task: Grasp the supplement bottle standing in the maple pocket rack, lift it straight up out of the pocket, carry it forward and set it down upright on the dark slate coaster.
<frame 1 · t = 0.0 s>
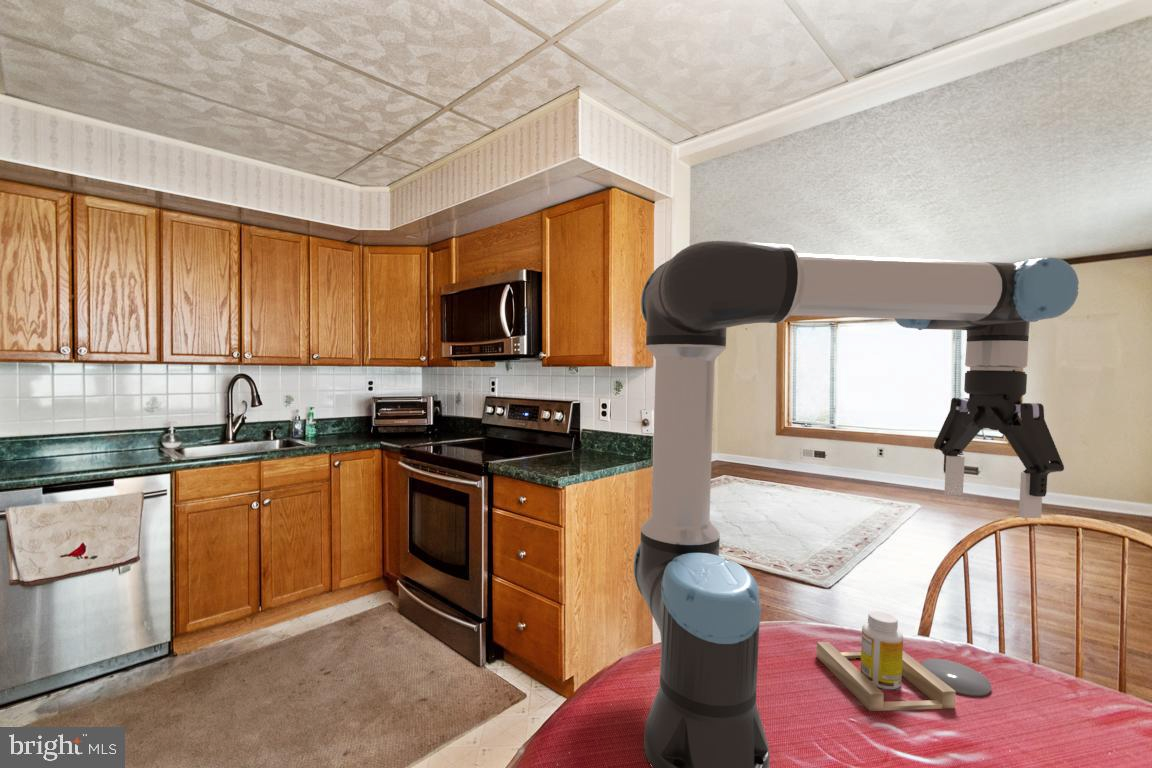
hand: (988, 505, 81), 28 cm above the table, fingers open, 13 cm apart
supplement bottle: (880, 681, 82), resting in pocket rack
pocket rack: (880, 680, 82), on the table
coaster: (954, 678, 83), on the table
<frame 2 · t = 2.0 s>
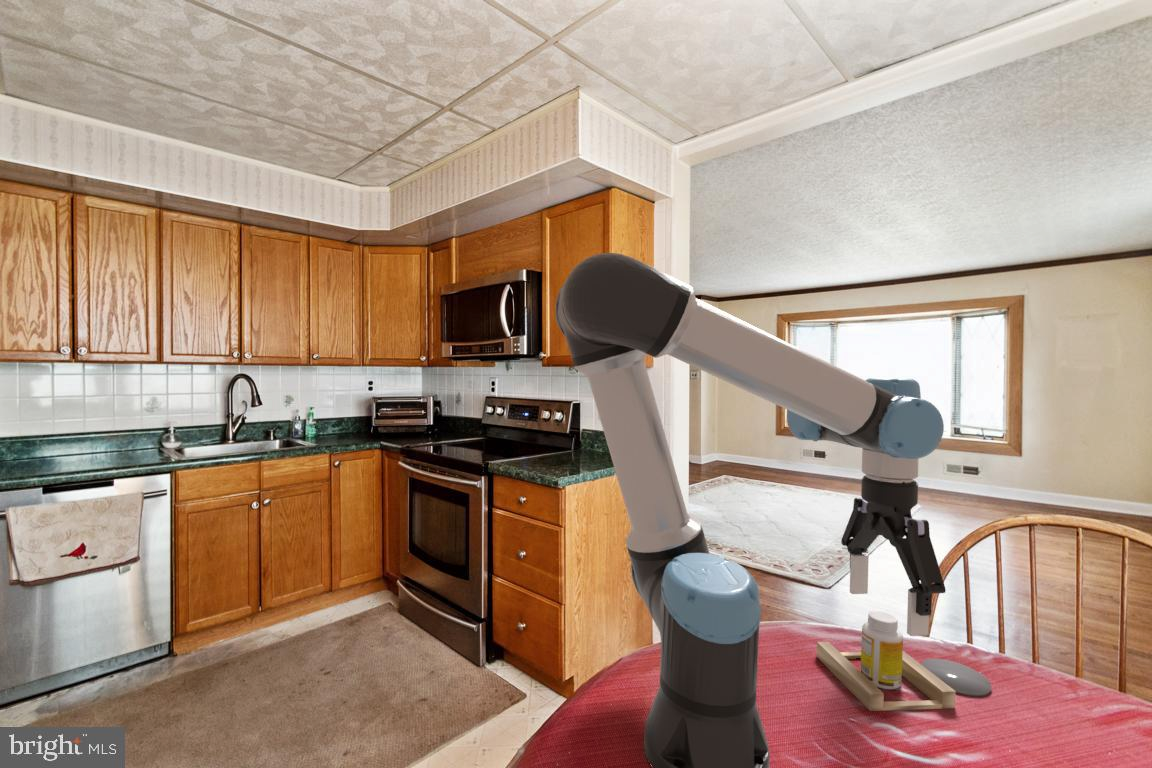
hand: (885, 612, 81), 11 cm above the table, fingers open, 13 cm apart
nothing on the table moved.
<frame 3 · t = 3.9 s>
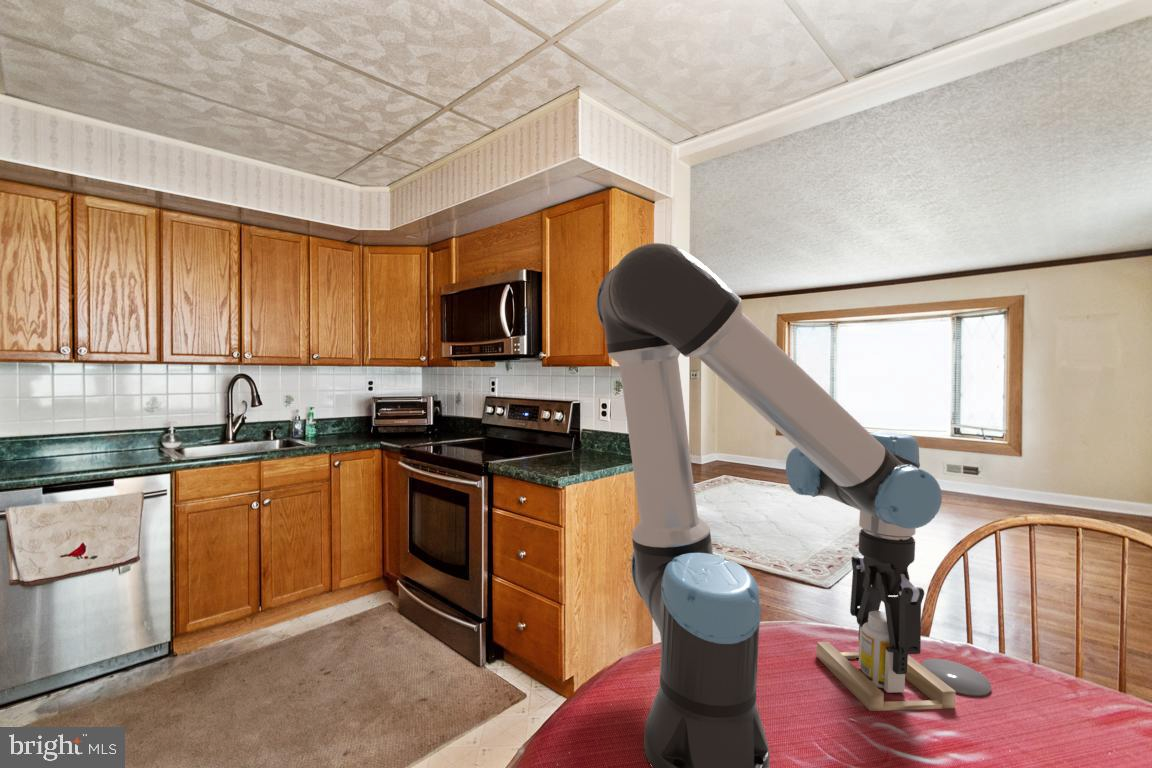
hand: (880, 678, 82), 0 cm above the table, fingers closed on supplement bottle, 6 cm apart
supplement bottle: (880, 681, 82), resting in pocket rack, touching gripper
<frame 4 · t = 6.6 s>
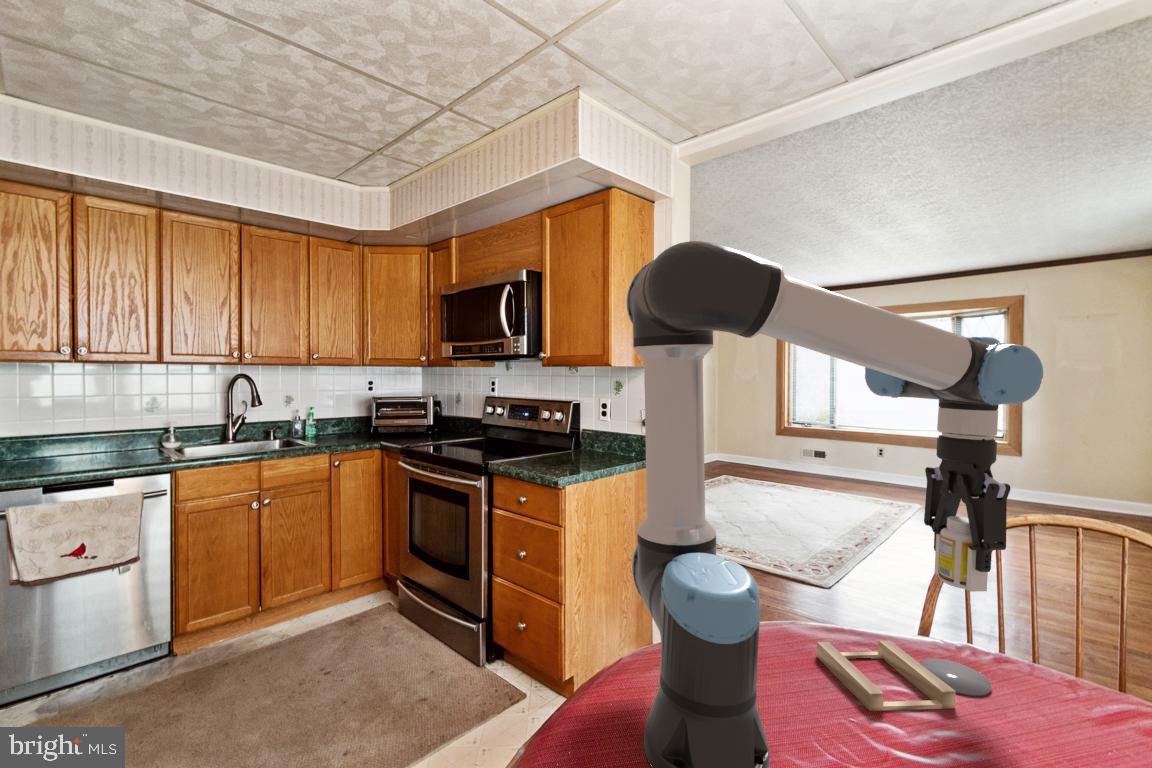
hand: (959, 581, 82), 16 cm above the table, fingers closed on supplement bottle, 6 cm apart
supplement bottle: (959, 584, 82), point 15 cm above the table, touching gripper
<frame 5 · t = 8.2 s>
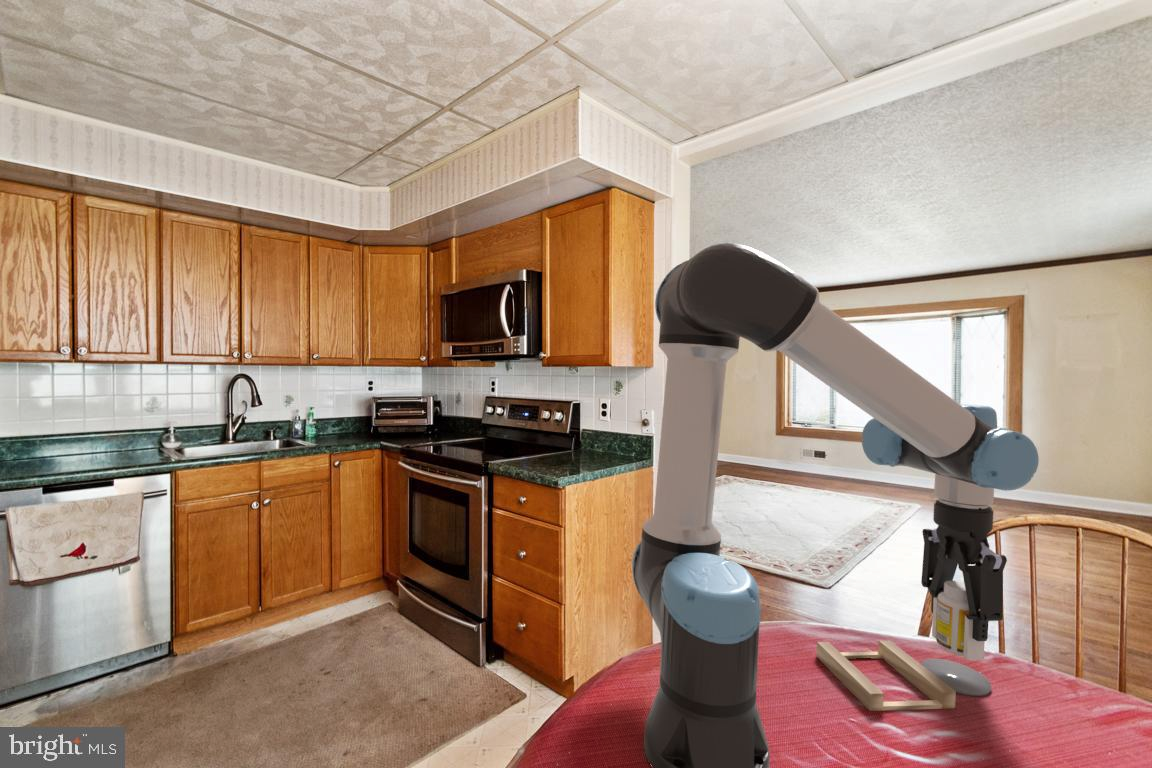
hand: (956, 646, 83), 5 cm above the table, fingers closed on supplement bottle, 6 cm apart
supplement bottle: (956, 650, 83), point 5 cm above the table, touching gripper
when the fingers open (2 cm above the table, at t = 9.6 s): supplement bottle drops 1 cm, resting on coaster.
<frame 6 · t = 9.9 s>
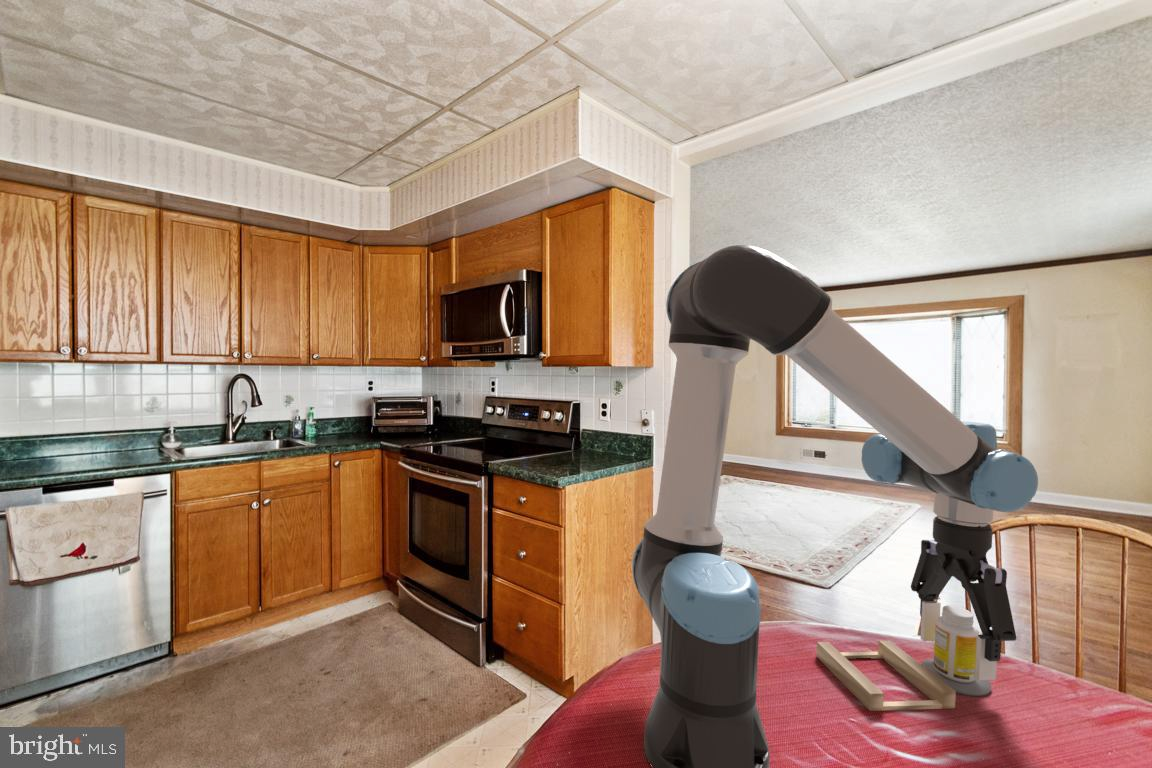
hand: (955, 658, 83), 3 cm above the table, fingers open, 10 cm apart
supplement bottle: (953, 675, 83), resting on coaster
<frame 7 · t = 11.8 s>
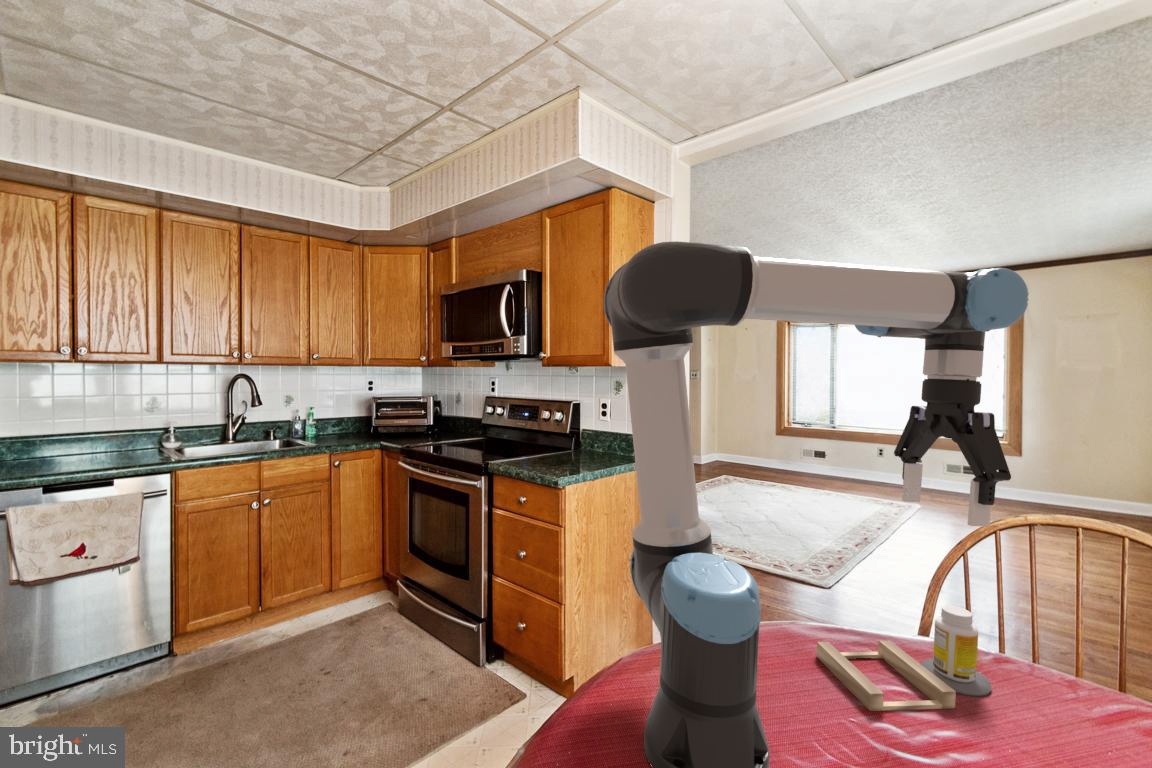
hand: (941, 512, 82), 26 cm above the table, fingers open, 13 cm apart
nothing on the table moved.
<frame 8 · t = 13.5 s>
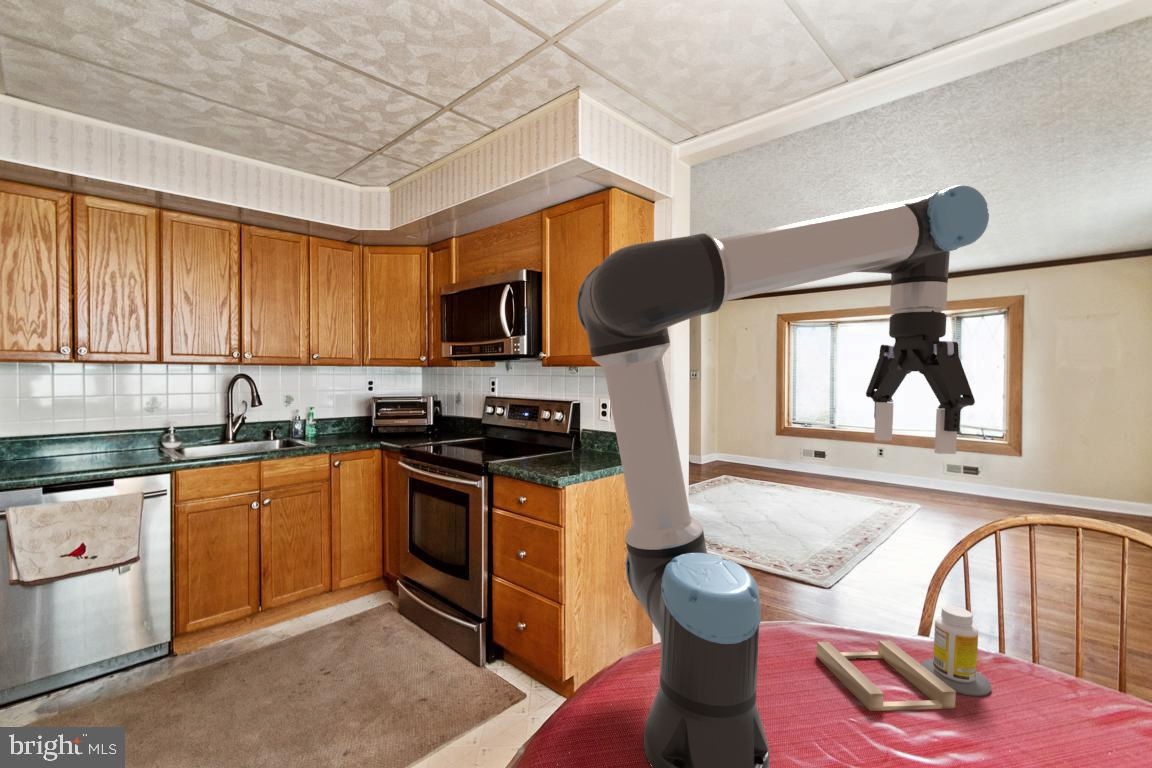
hand: (911, 446, 83), 37 cm above the table, fingers open, 13 cm apart
nothing on the table moved.
at the end: supplement bottle 0.1 cm from the coaster (horizontally); supplement bottle tilted 0°; supplement bottle resting on coaster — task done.
